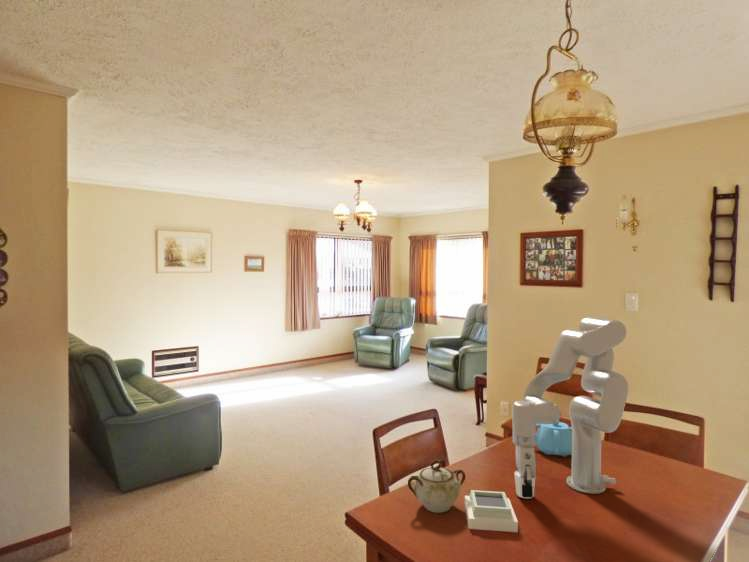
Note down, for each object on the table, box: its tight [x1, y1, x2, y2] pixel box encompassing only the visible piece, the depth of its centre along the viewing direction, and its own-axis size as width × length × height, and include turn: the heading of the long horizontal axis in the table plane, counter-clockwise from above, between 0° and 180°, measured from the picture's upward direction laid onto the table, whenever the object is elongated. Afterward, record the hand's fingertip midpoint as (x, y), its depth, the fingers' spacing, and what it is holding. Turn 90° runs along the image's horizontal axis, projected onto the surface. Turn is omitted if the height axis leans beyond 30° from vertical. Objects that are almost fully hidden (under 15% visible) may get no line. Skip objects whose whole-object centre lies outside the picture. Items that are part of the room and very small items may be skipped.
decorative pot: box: [535, 419, 572, 458], centre depth 190 cm, size 16×16×14 cm
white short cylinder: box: [514, 469, 536, 500], centre depth 151 cm, size 7×7×7 cm
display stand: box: [464, 489, 519, 533], centre depth 137 cm, size 14×14×6 cm
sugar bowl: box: [407, 459, 466, 514], centre depth 144 cm, size 20×15×15 cm
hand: (524, 491), depth 151 cm, fingers closed on white short cylinder, 6 cm apart
